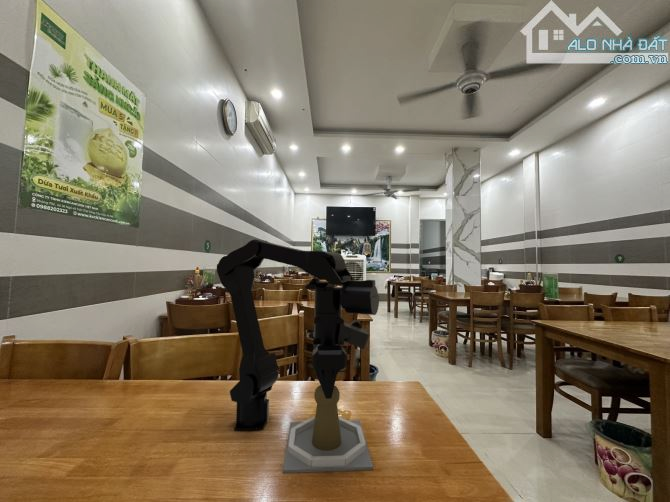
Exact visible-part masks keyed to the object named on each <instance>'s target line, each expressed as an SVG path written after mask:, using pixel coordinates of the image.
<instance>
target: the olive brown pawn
mask: <svg viewBox="0 0 670 502" xmlns="http://www.w3.org/2000/svg"><path fill="white" fill-rule="evenodd" d="M313 396H314V397H313V398H314V401H315V403H316V408H315V414H314V415H315V416H314V417H315V422H314V430H313V437H312V445H313V446H314V447H315V448H317V449H319V450H323V451H329V450H334V449H336V448H338V447H339V446H340V445H341V434H340V425H339V417H340V416H339V408H338V402H339V400H340V389H339V388H338V386H336V385H334V389H333V394H332V398H331V399H326V398H325V395H324V393H323V390H322V387H321V385H320V384H319V385H318V386H317V387H316V388H315V391H314V395H313Z"/></svg>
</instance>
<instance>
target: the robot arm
mask: <svg viewBox="0 0 670 502" xmlns="http://www.w3.org/2000/svg"><path fill="white" fill-rule="evenodd" d="M264 260H270V261H274V262H278V263H280V264H285V265H289V266H293V267H296V268H298V269H300V270H302V271H303V272H304V273H306V274H308V275H310V276H311V277H313V278H312V279H311V280H310V282H308V283H307V284H306V285H305V286H304V288H305V290H312V291H313V290H314V311H313V313H314V315H313V316H314V318H313V321H314V324H313V330H314V331H313V333H312V334H313V335H312V336H313V337H312V342H313V344H312V345H313V350H312V369H313V370H314V372H315V374H316V378H317V380H318V382H319V386H320V385H321V387H322V390H323V393H324V395H325V398H326V399H331V398H332V394H333V389H334V386H336V385H335V384H336V380H337V377H338V374H339V372H341V371H342V370H344V369H346V367H348V354H347V351H346V350H345V348H344V347H343V346H345V343H348V344H351V345H353V346H356V347H358V348H359V349H362V350H366V347H367V345H368V341H369V338H370V335H371V334H370V332H368V330H366V329H364V328H362V323H361V322H360V321H357V320H354V319H353V320H352V321H351V322H350V323H348V322H347V323H346V322H345V319H344V318H343V316H342V315H343V312H342V311H343V310H344V311H345V313H346V314H353V315H354V314H355V315H367V316H368V315H370V316H376V315H377V314H378V310H379V305H380V295H379V293H378V288H377V286H376V280H375V279H366V280H356V279H355V278H354V276H353V275H352V274H351V273H350V271H349V270H348V268H347V267H346V262H345V261H346V260H345V259H344V257H343V255H342V254H340V253H338V252H334V251H325V250H302V249H299V248H293V247H290V246H286V245H285V246H284V245H280V244H276V243H272V242H269V241H268V240H263V239H254V238H253V239H252V240H250V241H248V242H247V243H245V245H242V246H241V247H238V248H237V249H235V250H233V251H230V253H228V254H227V255H223V257H221V258H220V259H219V261H218V263H217V264H216V273H217V276H218V279H219V281H220V284H221V285H222V287H224V288H225V290H226V291H227V293H228V294H229V295H230V300H231V304H232V309H233V315H234V319H235V323H236V324H235V325H236V328H237V333H238V338H239V342H240V347H241V352H242V358H241V360H240V364H239V367H238V373H239V374H238V375H239V381H238V382H237V383H236V384H235V385H234V386H233V387H232V388H231V389H230V391H229V395H230V400H231V401H232V402H234V403H236V409H235V410H236V414H235V417H236V418H235V424H234V426H233V430H234V431H257V430H258V431H260V430H264V428H265V427H266V426H265V425H266V423H267V422H268V420H269V417H270V400H269V398H268V392H270V391H272V389H273V386H274V384H275V383H276V381H277V380H278V379H279V370H280V367H279V365H278V362H277V356H276V355H277V354H276V353H275V352H272V353H269V351H267V349H266V348H265V344H264V340H263V336H262V331H261V327H260V323H259V319H258V315H257V314H258V313H257V310H256V305H255V301H254V297H253V296H254V295H253V292H252V287H253V285H254V280H255V270H256V269H258V268H259V267H260V266H261V265H262V263H263V261H264ZM321 280H325V281H321Z"/></svg>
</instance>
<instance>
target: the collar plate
mask: <svg viewBox="0 0 670 502" xmlns="http://www.w3.org/2000/svg"><path fill="white" fill-rule="evenodd" d="M338 417H339V425H340V434H341V445H340V446H339V447H338V448H336V449H334V450H329V451H323V450H319V449H317V448H315V447H314V446H313V445H312V437H313V430H314V422H315V416H312V417H309V418H308V419H306V420H304V421H291V422H290V423H289V424H290V425H289V428H288V429H289V430H288V434H287V435H288V437H287V443H286V449H285V455H284V460H283V466H282V474H295V473H296V474H299V473H318V472H319V473H321V472H323V473H325V472H343V471H344V472H345V471H348V472H349V471H352V472H353V471H372V470H374V464H373V461H372V457H371V454H370V450H369V448H368V447H369V446H368V443H367V441H366V437H365V433H364V430H363V426H362V423H361V420H360V419H357V420H356V419H354V420H352V419H351V420H350V419H349V420H347V419H346V418H344V417H341V416H338Z"/></svg>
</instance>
